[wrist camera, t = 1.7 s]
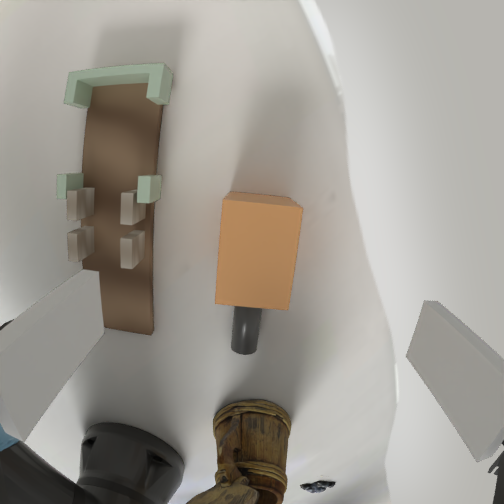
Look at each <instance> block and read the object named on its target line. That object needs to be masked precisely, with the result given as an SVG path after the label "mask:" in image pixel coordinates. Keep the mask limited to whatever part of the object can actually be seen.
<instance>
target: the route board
mask: <svg viewBox="0 0 504 504" xmlns="http://www.w3.org/2000/svg"><path fill="white" fill-rule="evenodd" d="M147 89H148V83H133V84H118V85H106V86H95V87H93V89H92V96H91V102H90V108H88V111H87V119H86V128H85V138H84V149H83V163H82V173H84V177H83V188H79V189H74V190H68V191H67V220H73V221H77V220H80V219H81V228H78V229H76V230H74V231H71V232H69V233H67V239H68V258H69V261H72V262H79V261H81V260H82V264H83V269H84V270H91V271H98V272H99V281H100V294H101V305H102V315H103V324H104V327H105V328H111V329H116V330H122V331H127V332H133V333H139V334H145V335H152V333H153V331H154V321H153V224H154V202H152V203H137V189H138V176H143V175H156V170H157V158H158V147H159V137H160V127H161V119H162V110H163V105H157V104H156V103H154V102H153V101H151V100H150V99H148V98H146V96H147Z"/></svg>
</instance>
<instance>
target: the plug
mask: <svg viewBox="0 0 504 504" xmlns="http://www.w3.org/2000/svg"><path fill="white" fill-rule="evenodd" d="M302 212H303V208H302V207H301V206H300V205H299V204H297V203H296V202H295V201H293V200H292V199H291V198H288V197H280V196H271V195H261V194H251V193H241V192H229V193H228V194H227V195H226V197H225V198H224V199H223V204H222V215H221V227H220V240H219V252H218V266H217V280H216V295H215V304H222V305H232V306H235V308H234V319H233V331H232V342H231V348H232V350H233V351H234V352H236V353H238V354H243V355H249V354H252V353H254V352H256V350H257V343H258V335H259V327H260V319H261V312H262V308H265V309H278V310H288V309H289V303H290V296H291V290H292V283H293V277H294V270H295V263H296V256H297V249H298V242H299V235H300V227H301V220H302Z"/></svg>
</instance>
